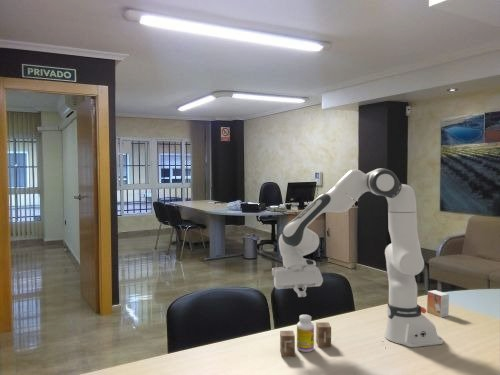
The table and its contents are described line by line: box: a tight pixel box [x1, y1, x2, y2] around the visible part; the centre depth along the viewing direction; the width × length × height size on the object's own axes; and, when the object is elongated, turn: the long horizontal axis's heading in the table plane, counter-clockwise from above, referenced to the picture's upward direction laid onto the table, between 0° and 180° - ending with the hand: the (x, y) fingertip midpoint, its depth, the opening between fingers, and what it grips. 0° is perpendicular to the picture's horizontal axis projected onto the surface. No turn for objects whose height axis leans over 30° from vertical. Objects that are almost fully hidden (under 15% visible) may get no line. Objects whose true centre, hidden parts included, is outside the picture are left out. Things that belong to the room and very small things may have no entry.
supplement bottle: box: [296, 314, 315, 353], centre depth 159 cm, size 7×7×13 cm
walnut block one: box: [315, 321, 332, 348], centre depth 163 cm, size 5×5×8 cm
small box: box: [426, 289, 450, 318], centre depth 196 cm, size 8×6×10 cm
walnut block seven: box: [279, 330, 296, 358], centre depth 155 cm, size 5×5×8 cm
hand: (302, 296), depth 162 cm, fingers closed
